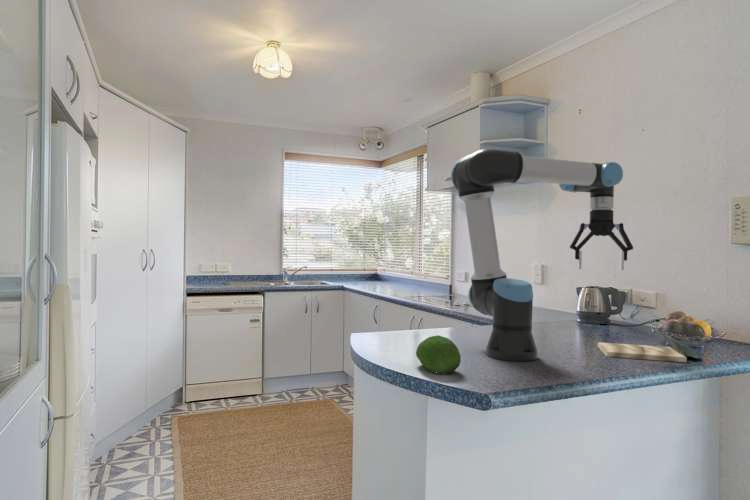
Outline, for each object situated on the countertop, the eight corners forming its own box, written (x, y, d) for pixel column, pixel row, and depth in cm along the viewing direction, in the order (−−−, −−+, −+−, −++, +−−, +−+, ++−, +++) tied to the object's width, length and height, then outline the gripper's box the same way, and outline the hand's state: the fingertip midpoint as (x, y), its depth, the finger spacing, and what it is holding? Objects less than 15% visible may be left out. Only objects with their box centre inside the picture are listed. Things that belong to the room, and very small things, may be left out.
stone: (673, 346, 145) (699, 368, 144) (682, 337, 144) (709, 359, 143) (658, 338, 155) (683, 359, 154) (667, 330, 155) (692, 350, 154)
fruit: (407, 367, 131) (408, 331, 131) (438, 364, 134) (439, 329, 134) (433, 381, 117) (434, 341, 117) (467, 378, 120) (468, 339, 120)
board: (606, 356, 148) (607, 351, 148) (597, 346, 164) (597, 342, 164) (686, 362, 142) (686, 357, 142) (669, 351, 158) (669, 346, 158)
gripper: (565, 209, 167) (563, 268, 167) (643, 208, 160) (642, 270, 160) (562, 210, 174) (561, 268, 174) (637, 210, 167) (636, 270, 167)
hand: (600, 269), depth 167 cm, fingers open, 13 cm apart
